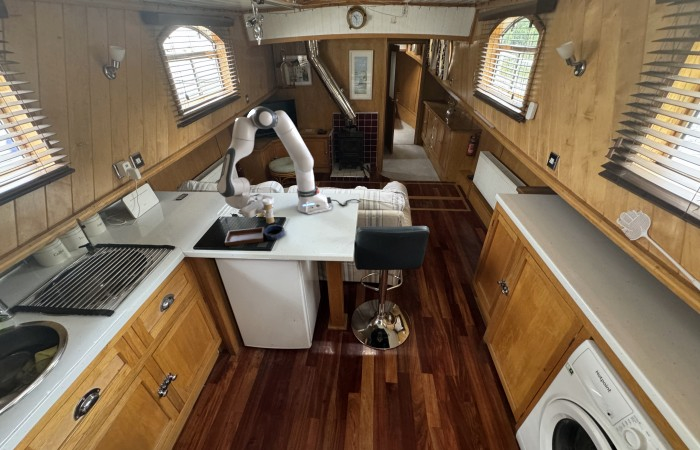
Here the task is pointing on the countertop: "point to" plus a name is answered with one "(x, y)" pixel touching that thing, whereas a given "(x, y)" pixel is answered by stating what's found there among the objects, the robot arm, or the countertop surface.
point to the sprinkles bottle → (268, 210)
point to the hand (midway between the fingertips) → (269, 209)
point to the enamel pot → (274, 237)
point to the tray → (245, 236)
